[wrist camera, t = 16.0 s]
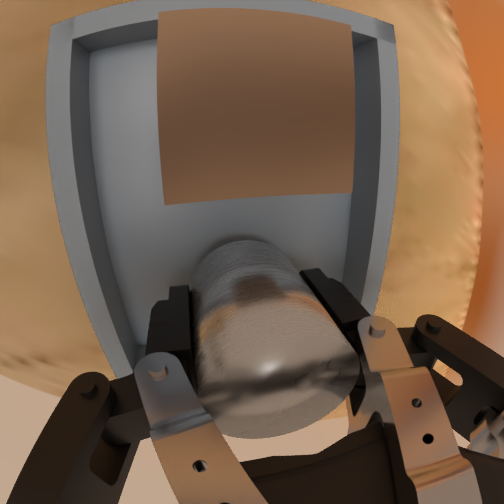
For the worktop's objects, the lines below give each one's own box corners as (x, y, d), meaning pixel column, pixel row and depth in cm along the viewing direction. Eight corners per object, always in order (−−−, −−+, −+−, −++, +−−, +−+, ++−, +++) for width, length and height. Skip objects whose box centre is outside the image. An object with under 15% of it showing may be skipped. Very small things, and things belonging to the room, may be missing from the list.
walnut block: (172, 62, 8) (158, 11, 4) (286, 62, 9) (350, 25, 5) (176, 173, 10) (164, 205, 6) (288, 166, 11) (352, 193, 7)
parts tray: (127, 347, 14) (121, 386, 12) (78, 44, 8) (51, 25, 5) (341, 316, 17) (364, 347, 14) (356, 38, 10) (393, 25, 7)
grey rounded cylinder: (197, 337, 12) (210, 446, 7) (182, 246, 10) (181, 354, 5) (292, 323, 13) (342, 417, 8) (297, 234, 11) (376, 318, 6)
